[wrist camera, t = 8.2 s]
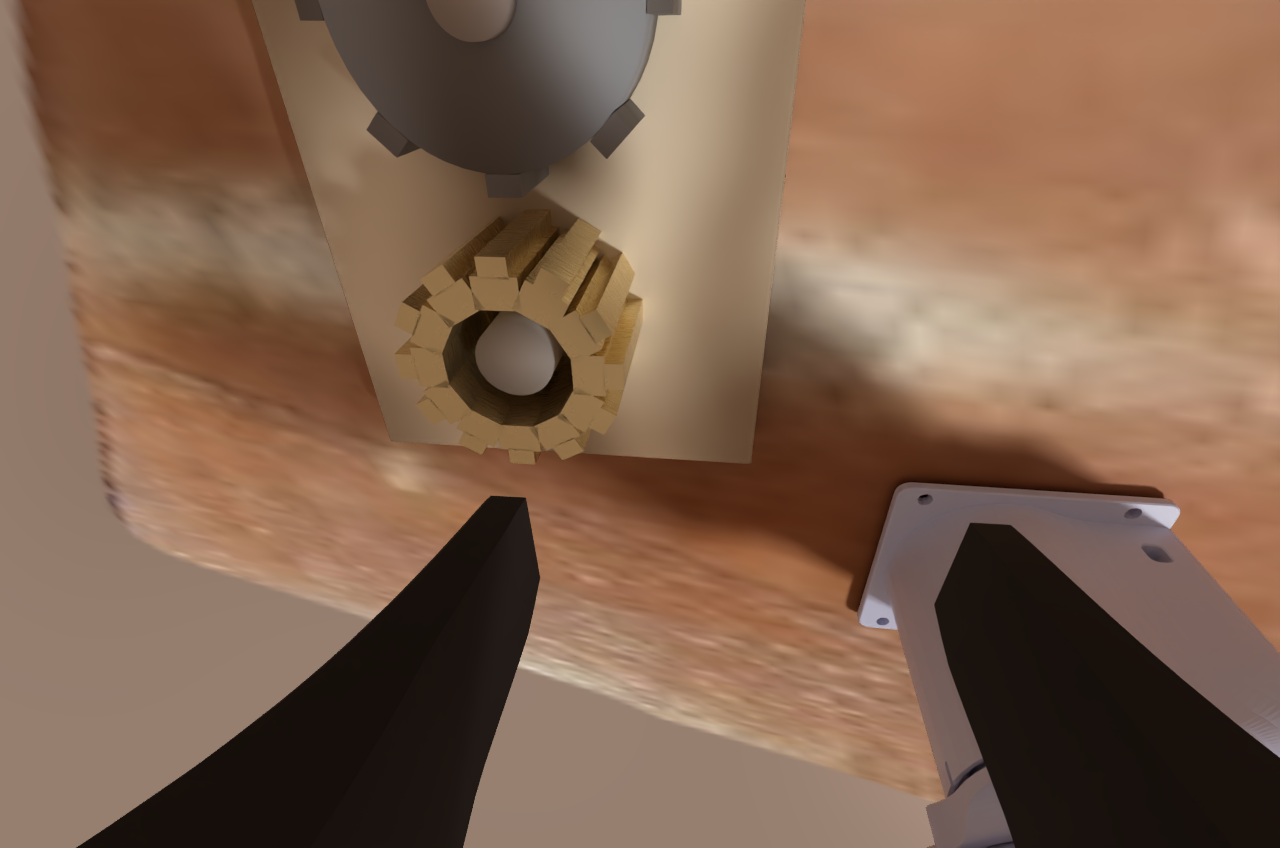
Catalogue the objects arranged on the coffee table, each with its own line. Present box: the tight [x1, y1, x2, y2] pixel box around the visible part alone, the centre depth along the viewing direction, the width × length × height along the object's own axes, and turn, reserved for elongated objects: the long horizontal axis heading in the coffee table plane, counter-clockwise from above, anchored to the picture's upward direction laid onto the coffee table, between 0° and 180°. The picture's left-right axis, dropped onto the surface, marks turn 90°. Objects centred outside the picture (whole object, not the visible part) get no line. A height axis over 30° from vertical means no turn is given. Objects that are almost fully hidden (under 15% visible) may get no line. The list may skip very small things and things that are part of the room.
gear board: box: [251, 0, 806, 464], centre depth 15 cm, size 13×17×5 cm
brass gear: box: [394, 209, 643, 464], centre depth 16 cm, size 6×6×4 cm
